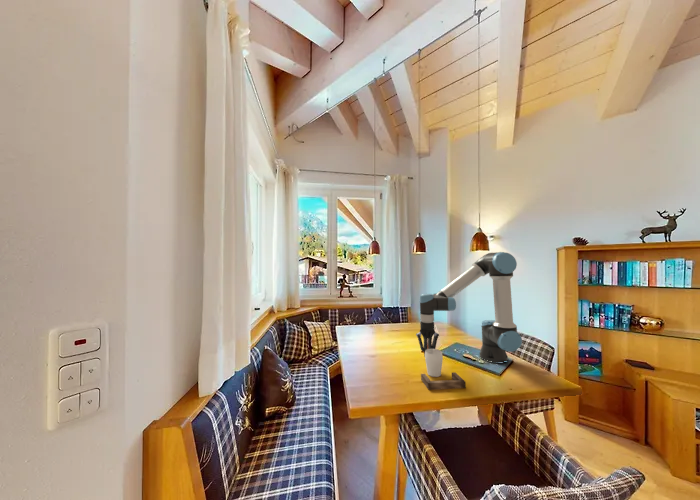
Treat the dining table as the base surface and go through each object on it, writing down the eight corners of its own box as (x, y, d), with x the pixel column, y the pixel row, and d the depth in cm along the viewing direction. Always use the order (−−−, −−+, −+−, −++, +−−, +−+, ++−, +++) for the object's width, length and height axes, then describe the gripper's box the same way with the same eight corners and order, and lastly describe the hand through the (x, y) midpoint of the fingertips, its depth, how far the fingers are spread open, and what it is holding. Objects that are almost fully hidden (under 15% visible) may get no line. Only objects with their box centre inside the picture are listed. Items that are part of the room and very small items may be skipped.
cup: (444, 378, 131) (443, 355, 132) (426, 377, 133) (425, 354, 133) (441, 371, 140) (441, 349, 140) (424, 370, 142) (424, 348, 142)
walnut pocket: (455, 378, 131) (455, 372, 132) (465, 388, 121) (465, 381, 122) (421, 379, 130) (421, 373, 130) (428, 389, 120) (428, 383, 120)
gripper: (435, 319, 150) (436, 360, 149) (413, 320, 149) (414, 361, 148) (441, 322, 142) (442, 365, 141) (418, 323, 142) (419, 366, 141)
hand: (428, 363), depth 145 cm, fingers closed
